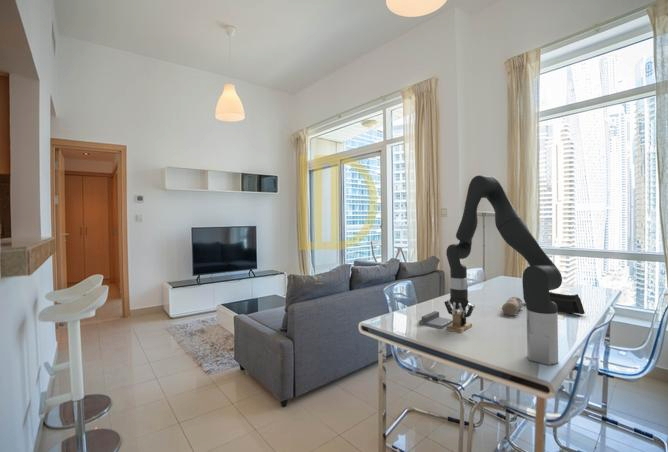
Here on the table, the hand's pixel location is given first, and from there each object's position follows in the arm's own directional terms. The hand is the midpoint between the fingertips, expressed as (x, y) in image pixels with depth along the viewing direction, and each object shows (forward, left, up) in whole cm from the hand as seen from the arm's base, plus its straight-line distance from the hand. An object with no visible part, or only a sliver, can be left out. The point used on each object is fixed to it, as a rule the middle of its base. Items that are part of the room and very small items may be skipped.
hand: (459, 324), depth 148 cm
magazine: (+62, -24, -2) cm, 66 cm away
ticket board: (0, +11, -2) cm, 12 cm away
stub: (0, 0, -2) cm, 2 cm away
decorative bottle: (+47, -10, -2) cm, 48 cm away
